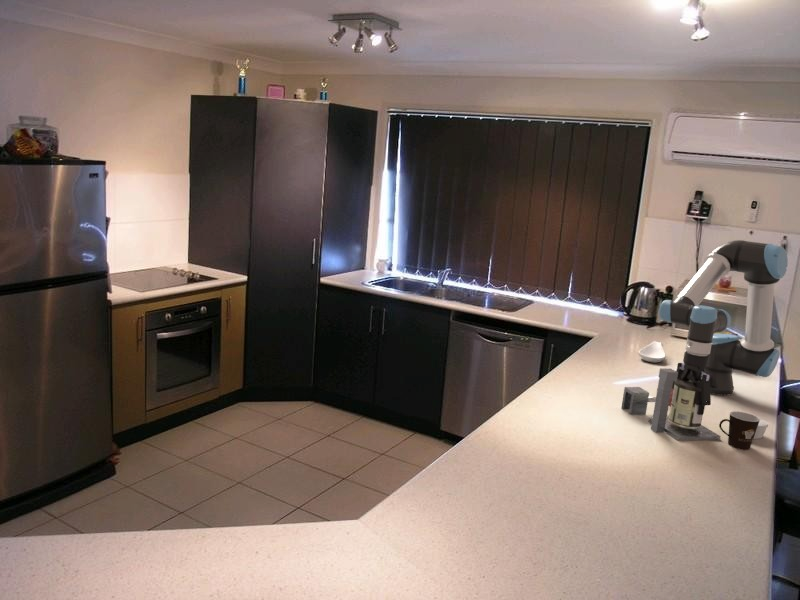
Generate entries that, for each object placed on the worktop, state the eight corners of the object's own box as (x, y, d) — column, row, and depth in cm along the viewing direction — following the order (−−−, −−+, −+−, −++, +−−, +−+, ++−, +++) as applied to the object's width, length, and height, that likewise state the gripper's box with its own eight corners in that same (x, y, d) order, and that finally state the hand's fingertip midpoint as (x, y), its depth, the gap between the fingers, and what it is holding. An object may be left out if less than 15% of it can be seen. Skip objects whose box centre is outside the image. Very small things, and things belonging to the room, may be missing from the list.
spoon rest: (661, 366, 300) (664, 351, 299) (635, 361, 306) (637, 346, 304) (669, 356, 321) (672, 341, 319) (644, 351, 326) (646, 337, 325)
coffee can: (696, 420, 226) (704, 380, 223) (704, 431, 216) (711, 390, 213) (665, 415, 228) (672, 376, 225) (671, 426, 218) (678, 385, 215)
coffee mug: (751, 443, 216) (757, 414, 214) (756, 453, 208) (762, 423, 206) (712, 436, 220) (718, 407, 218) (715, 445, 212) (721, 416, 210)
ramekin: (764, 432, 227) (767, 418, 226) (766, 443, 217) (769, 428, 216) (728, 425, 232) (730, 410, 231) (728, 435, 222) (731, 420, 221)
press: (666, 408, 244) (676, 353, 239) (720, 439, 217) (731, 378, 213) (620, 408, 239) (628, 352, 235) (668, 440, 212) (679, 378, 208)
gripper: (665, 343, 227) (655, 404, 231) (711, 363, 206) (698, 430, 210) (684, 343, 229) (674, 404, 233) (731, 363, 208) (718, 430, 212)
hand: (685, 416), depth 222 cm, fingers closed on coffee can, 10 cm apart
